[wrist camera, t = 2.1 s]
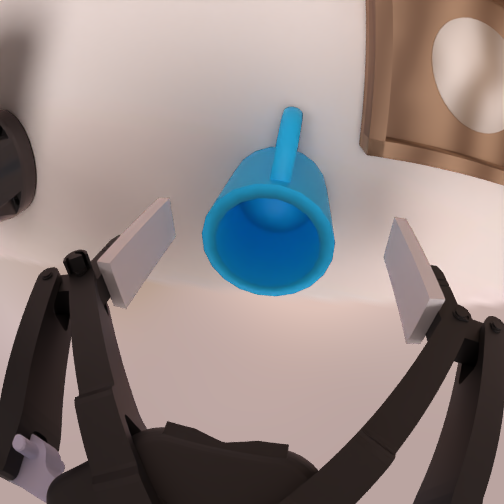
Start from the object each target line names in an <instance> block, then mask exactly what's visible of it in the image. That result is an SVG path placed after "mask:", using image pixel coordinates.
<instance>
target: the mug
mask: <svg viewBox="0 0 504 504" xmlns="http://www.w3.org/2000/svg"><path fill="white" fill-rule="evenodd" d="M302 118H303V113H302V111H301V110H300V109H298V108H296V107H288V108H286V109H285V110H284V112H283V115H282V119H281V123H280V127H279V132H278V137H277V142H276V147H269V148H265V149H262V150H258V151H255V152H254V153H252V154H251V155H249V156H248V157H246V158H245V159H244V160H243V161H242V162H241V164H240V165H239V166H238V168H237V169H236V170H235V172H234V173H233V175H232V176H231V178H230V179H229V181H228V182H227V184H226V186H225V187H224V189H223V190H222V192H221V193H220V195H219V196H218V198H217V200H216V201H215V203H214V204H213V206H212V208H211V209H210V211H209V212H208V214H207V215H206V218H205V222H204V227H203V231H202V238H203V245H204V251H205V253H206V255H207V257H208V259H209V261H210V263H211V265H212V267H213V268H214V269H215V270H216V271H217V272H218V273H219V274H220V275H221V276H222V277H223V278H224V279H225V280H227V281H228V282H230V283H231V284H233V285H235V286H236V287H238V288H239V289H242V290H245V291H248V292H251V293H254V294H257V295H268V296H280V295H287V294H294V293H296V292H298V291H301V290H303V289H305V288H308V287H310V286H311V285H312V284H314V283H315V282H316V281H317V280H318V279H319V278H321V277H322V276H323V275H324V273H325V272H326V270H327V268H328V266H329V265H330V263H331V261H332V258H333V252H334V246H335V240H334V233H333V226H332V219H331V213H330V207H329V200H328V195H327V189H326V185H325V181H324V177H323V175H322V173H321V172H320V170H319V169H318V167H317V166H316V164H315V163H314V162H313V161H312V160H310V159H309V158H308V157H307V156H305V155H304V154H303V153H300V152H298V151H297V149H298V143H299V137H300V132H301V125H302Z"/></svg>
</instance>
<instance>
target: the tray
mask: <svg viewBox="0 0 504 504" xmlns="http://www.w3.org/2000/svg"><path fill="white" fill-rule="evenodd" d="M359 145H360V146H361V148H362V149H363V150H364V152H365V153H366V154H367V155H370V156H377V157H383V158H389V159H395V160H401V161H406V162H412V163H417V164H422V165H427V166H431V167H436V168H440V169H445V170H449V171H453V172H457V173H461V174H465V175H469V176H473V177H477V178H480V179H484V180H487V181H491V182H494V183H497V184H501V185H504V0H366V66H365V86H364V100H363V113H362V124H361V134H360V143H359Z"/></svg>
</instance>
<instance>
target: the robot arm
mask: <svg viewBox="0 0 504 504" xmlns="http://www.w3.org/2000/svg"><path fill="white" fill-rule="evenodd" d="M35 185H36V173H35V164H34V158H33V154H32V150H31V146H30V143H29V140H28V138H27V135H26V133H25V131H24V129H23V127H22V125H21V124H20V122H19V121H18V120H17V118H16V117H15V116H14V115H13V114H11V113H10V112H8V111H6V110H0V222H1V221H4V220H7V219H11V218H13V217H15V216H17V215H18V214H20V213H21V212H22V211H23V210H25V209H26V208H27V207H28V206H29V205H30V203H31V202H32V199H33V197H34V193H35ZM175 237H176V235H175V229H174V223H173V216H172V210H171V203H170V198H158V199H157V200H156V201H155V202H154V203H152V204H151V205H150V206H149V207H148V208H147V209H146V210H145V211H144V212H143V213H142V214H141V215H140V216H139V217H138V218H137V219H136V220H135V221H134V222H133V223H132V224H131V225H130V226H129V227H128V228H127V229H126V230H125V231H124V232H123V234H122V235H118V236H117V237H115V238H113V239H112V240H111V241H110V242H109V243H108V244H107V245H106V247H104V248H103V249H102V251H100V252H99V253H98V254H97V255H96V257H95V258H94V259H93V260H92V261H91V262H90V259H89V256H88V254H87V251H85V250H76V251H74V252H71V253H70V254H68V255H67V256H66V257H65V258H64V261H63V263H64V265H65V268H66V270H67V273H68V275H60V273H59V271H58V269H57V268H55V267H53V268H47V269H45V270H44V271H43V272H42V273H40V275H39V276H38V278H37V280H36V283H35V285H34V288H33V290H32V292H31V295H30V297H29V300H28V303H27V306H26V308H25V311H24V314H23V316H22V319H21V322H20V325H19V328H18V331H17V334H16V337H15V341H14V344H13V348H12V351H11V355H10V358H9V362H8V366H7V370H6V374H5V379H4V383H3V388H2V393H1V398H0V477H2V478H4V479H5V480H7V481H9V482H11V483H13V484H16V485H18V486H20V487H22V488H23V489H25V490H26V491H28V492H30V493H31V494H33V495H34V496H36V497H37V498H39V499H41V500H42V501H44V502H46V503H47V504H356V503H357V501H358V500H360V498H361V497H362V496H363V495H364V494H365V493H366V492H367V491H368V490H369V489H370V488H371V487H372V486H373V484H374V483H375V482H376V481H377V480H378V479H379V478H380V476H382V474H383V473H384V472H385V471H386V470H387V468H388V467H389V466H390V465H391V463H392V462H393V460H394V459H395V454H396V452H397V451H398V450H399V448H400V447H401V445H402V444H403V443H404V442H405V440H406V438H407V437H408V436H409V435H410V433H411V432H412V430H413V429H414V428H415V426H416V425H417V423H418V422H419V420H420V419H421V417H422V416H423V414H424V413H425V411H426V409H427V408H428V406H429V404H430V403H431V401H432V400H433V398H434V396H435V395H436V393H437V391H438V390H439V388H440V386H441V384H442V382H443V381H444V379H445V377H446V375H447V373H448V371H449V369H450V368H451V366H452V363H453V362H454V361H455V362H458V367H457V372H456V377H455V382H454V387H453V391H452V395H451V400H450V403H449V407H448V411H447V415H446V418H445V422H444V425H443V428H442V432H441V435H440V438H439V441H438V444H437V447H436V450H435V452H434V455H433V458H432V460H431V463H430V466H429V468H428V470H427V473H426V475H425V478H424V480H423V482H422V484H421V487H420V489H419V491H418V493H417V495H416V498H415V500H414V503H413V504H482V503H483V497H484V494H485V491H486V488H487V484H488V481H489V478H490V475H491V471H492V467H493V463H494V459H495V455H496V451H497V446H498V441H499V436H500V429H501V424H502V417H503V409H504V324H503V322H501V320H500V319H498V318H496V317H494V316H489V317H488V318H486V320H485V321H484V323H481V322H478V321H475V320H472V318H471V315H470V313H469V312H468V310H467V309H465V308H464V307H463V306H460V305H458V304H457V302H456V300H455V297H454V295H453V293H452V291H451V288H450V287H449V284H448V282H447V281H446V278H445V276H444V274H443V272H442V271H441V270H440V269H439V268H438V267H437V266H433V265H430V264H429V262H428V260H427V258H426V256H425V253H424V251H423V249H422V248H421V246H420V244H419V242H418V240H417V238H416V236H415V234H414V232H413V230H412V228H411V227H410V225H409V223H408V221H407V219H404V218H397V217H394V221H393V225H392V228H391V232H390V236H389V240H388V243H387V247H386V250H385V254H384V260H385V263H386V267H387V270H388V273H389V277H390V280H391V284H392V287H393V291H394V295H395V298H396V302H397V306H398V310H399V314H400V318H401V322H402V327H403V331H404V336H405V340H406V343H407V344H412V343H413V344H420V343H421V342H422V340H423V339H424V337H425V335H426V338H427V341H428V342H427V344H426V345H425V347H424V348H423V350H422V351H421V353H420V354H419V356H418V357H417V359H416V361H415V362H414V363H413V365H412V366H411V368H410V369H409V370H408V372H407V373H406V375H405V376H404V377H403V379H402V380H401V381H400V383H399V384H398V385H397V387H396V388H395V389H394V391H393V392H392V393H391V394H390V396H389V397H388V398H387V399H386V401H385V402H384V403H383V404H382V406H381V407H380V408H379V409H378V410H377V411H376V413H375V414H374V415H373V416H372V417H371V418H370V420H369V421H368V422H367V423H366V424H365V425H364V426H363V427H362V428H361V430H360V431H359V432H358V433H357V434H356V435H355V436H354V437H353V438H352V439H351V440H350V441H349V442H348V443H347V444H346V445H345V446H344V447H343V448H342V449H341V450H340V451H339V452H338V453H337V454H336V455H335V456H334V457H333V458H332V459H331V460H330V461H329V462H328V463H327V464H326V465H324V466H323V467H322V468H321V469H320V470H319V471H318V470H317V469H316V468H315V467H314V465H313V464H312V463H310V462H309V461H308V460H306V459H305V458H303V457H302V456H300V455H298V454H296V453H293V452H291V451H288V447H289V445H288V444H287V445H286V444H277V443H269V442H262V441H249V442H230V443H225V442H221V441H219V440H217V439H215V438H213V437H211V436H208V435H207V434H205V433H203V432H201V431H199V430H197V429H194V428H190V427H186V426H182V425H179V424H175V423H171V422H167V423H166V426H165V427H160V428H152V429H146V426H145V425H144V423H143V421H142V419H141V417H140V415H139V412H138V409H137V406H136V404H135V401H134V398H133V395H132V392H131V389H130V386H129V382H128V379H127V376H126V373H125V369H124V366H123V363H122V359H121V355H120V352H119V348H118V344H117V340H116V337H115V332H114V328H113V324H112V319H111V315H110V310H109V306H108V304H107V301H108V300H109V298H110V297H111V300H112V302H113V304H114V306H117V307H121V308H127V307H128V305H129V304H130V302H131V301H132V299H133V298H134V296H135V295H136V293H137V292H138V290H139V289H140V287H141V286H142V284H143V283H144V281H145V280H146V278H147V277H148V275H149V274H150V272H151V271H152V270H153V268H154V267H155V265H156V264H157V262H158V261H159V259H160V258H161V257H162V255H163V254H164V252H165V251H166V250H167V248H168V247H169V245H170V244H171V243H172V241H173V240H174V239H175ZM71 337H72V347H73V356H74V364H75V371H76V377H77V383H78V389H79V396H78V397H75V400H74V401H75V409H76V413H77V419H78V423H79V428H80V432H81V436H82V440H83V444H84V448H85V451H86V455H87V458H88V461H86V462H85V463H83V464H81V465H79V466H77V467H75V468H73V469H71V470H69V471H67V472H64V473H62V472H63V471H64V469H65V465H64V463H63V462H62V461H61V458H60V455H59V453H58V451H59V446H60V440H61V427H62V407H63V395H64V385H65V375H66V368H67V360H68V354H69V347H70V341H71Z"/></svg>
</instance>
